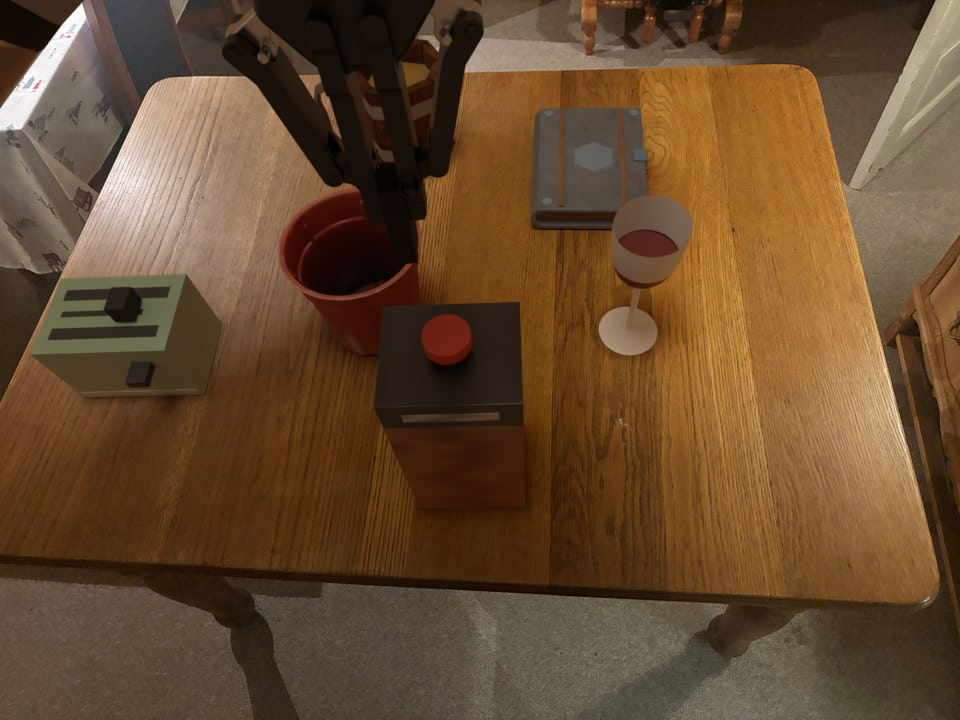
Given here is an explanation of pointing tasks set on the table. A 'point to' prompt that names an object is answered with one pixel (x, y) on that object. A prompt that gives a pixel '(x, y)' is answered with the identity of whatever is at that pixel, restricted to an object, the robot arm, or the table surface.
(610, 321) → the wineglass
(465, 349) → the timer button
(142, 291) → the toaster
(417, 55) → the mug
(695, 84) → the table surface
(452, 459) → the red button pedestal
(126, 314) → the slider
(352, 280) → the flower pot
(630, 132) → the book
